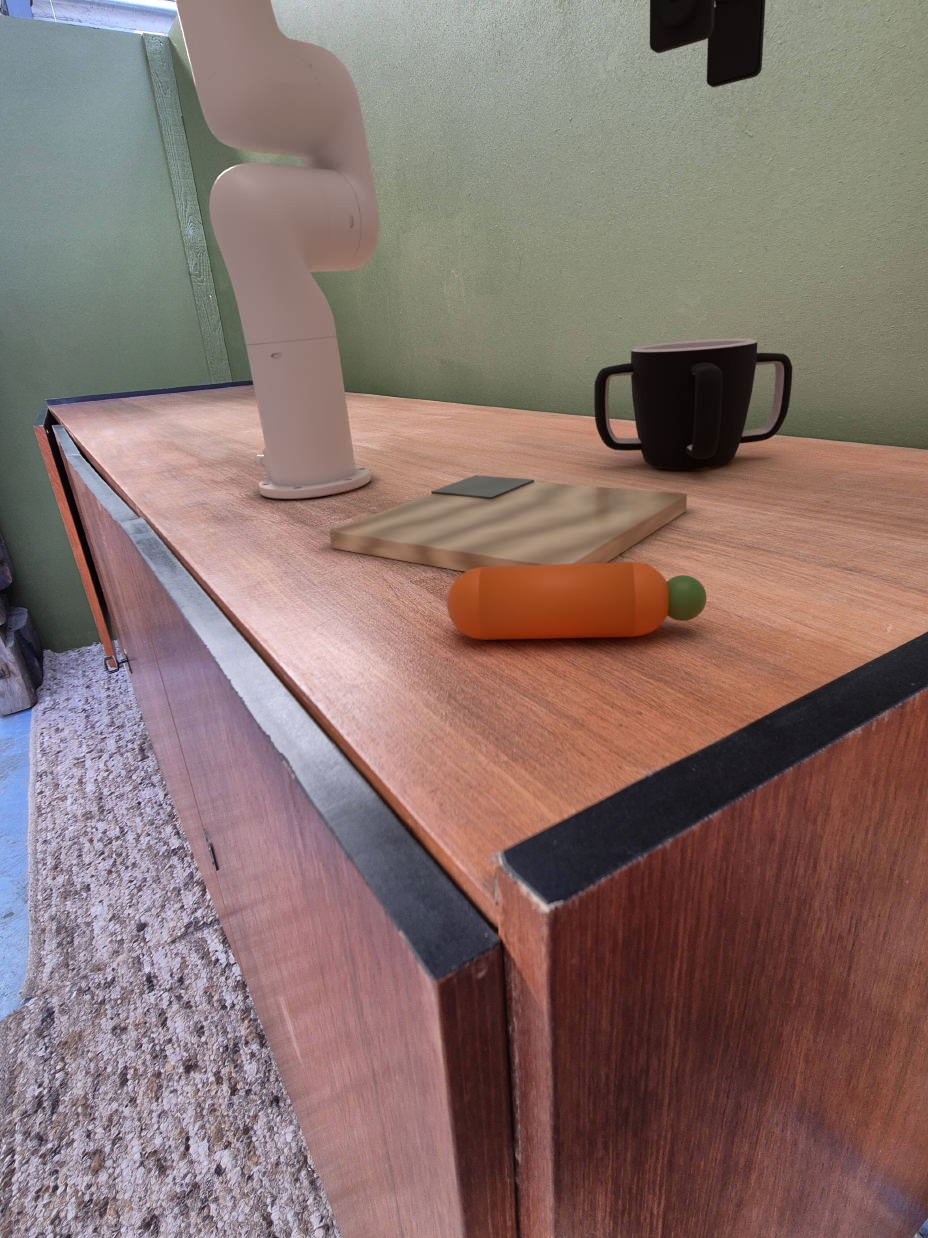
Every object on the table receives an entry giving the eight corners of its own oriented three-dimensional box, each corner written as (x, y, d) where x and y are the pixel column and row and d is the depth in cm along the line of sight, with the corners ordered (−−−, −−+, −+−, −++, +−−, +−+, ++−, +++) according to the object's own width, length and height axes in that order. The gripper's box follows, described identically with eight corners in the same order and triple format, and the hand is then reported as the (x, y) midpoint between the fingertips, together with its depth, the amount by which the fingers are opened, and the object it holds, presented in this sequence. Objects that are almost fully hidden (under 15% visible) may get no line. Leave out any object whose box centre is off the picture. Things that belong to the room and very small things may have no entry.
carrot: (446, 653, 39) (438, 585, 37) (456, 620, 42) (449, 557, 40) (710, 649, 36) (715, 577, 35) (697, 614, 40) (701, 548, 38)
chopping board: (331, 548, 58) (328, 528, 58) (476, 491, 73) (475, 475, 72) (565, 590, 45) (564, 564, 45) (686, 511, 60) (687, 491, 59)
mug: (682, 443, 87) (686, 338, 82) (803, 458, 74) (815, 334, 69) (580, 467, 79) (578, 352, 74) (694, 488, 66) (700, 351, 62)
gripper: (701, -235, 43) (692, 106, 49) (572, -450, 30) (584, 49, 37) (840, -306, 39) (810, 76, 45) (759, -590, 26) (734, 1, 32)
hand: (709, 64), depth 41 cm, fingers open, 9 cm apart
